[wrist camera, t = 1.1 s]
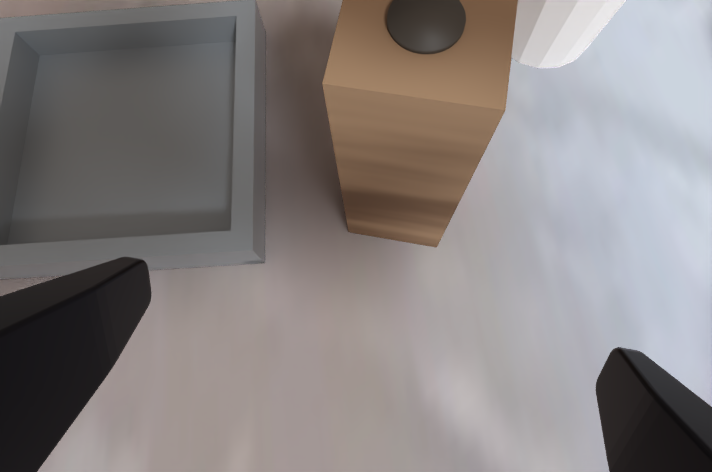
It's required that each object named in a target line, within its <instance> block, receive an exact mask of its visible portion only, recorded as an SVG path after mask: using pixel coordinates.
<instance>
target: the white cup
mask: <svg viewBox="0 0 712 472" xmlns="http://www.w3.org/2000/svg"><path fill="white" fill-rule="evenodd" d="M625 2H626V0H518V4H517V12H516V21H515V30H514V38H513V47H512V56H511V58H513V59H514V60H515V61H517V62H518V63H521V64H525V65H528V66H531V67H535V68H558V67H561V66H563V65H565V64H568V63H570V62H573V61H575V60H576V59H577V58H578V57H579V56H580V55H581V54H582V53H583V52H584V51H585V50H586V49H587V47H588V46H589V45H590V44H591V43H592V41H593V40H594V39H595V38H596V37H597V35H598V34H599V33H600V32H601V31H602V29H603V28H604V27H605V26H606V24H607V23H608V22H609V21H610V20H611V18H612V17H613V16H614V15H615V14H616V12H617V11H618V10H619V9H620V8H621V6H622V5H623V4H624V3H625Z"/></svg>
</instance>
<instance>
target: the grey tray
mask: <svg viewBox="0 0 712 472" xmlns="http://www.w3.org/2000/svg"><path fill="white" fill-rule="evenodd" d="M265 147H266V31H265V28H264V25H263V22H262V19H261V15H260V12H259V9H258V6H257V3H256V0H239V1H226V2H212V3H198V4H185V5H171V6H157V7H144V8H130V9H117V10H103V11H89V12H76V13H62V14H49V15H35V16H21V17H8V18H0V279H15V278H31V277H47V276H64V275H68V274H71V273H74V272H77V271H80V270H83V269H86V268H90V267H93V266H96V265H99V264H102V263H105V262H108V261H111V260H114V259H117V258H120V257H132V258H138V259H142V260H144V261H145V262H146V263H147V265H148V270H161V269H177V268H194V267H210V266H226V265H242V264H258V263H265Z"/></svg>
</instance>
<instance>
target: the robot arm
mask: <svg viewBox="0 0 712 472" xmlns="http://www.w3.org/2000/svg"><path fill="white" fill-rule="evenodd" d="M150 301H151V286H150V279H149V271H148V265H147V263H146V262H145V261H144V260H142V259H138V258H132V257H120V258H117V259H114V260H111V261H108V262H105V263H102V264H99V265H96V266H93V267H90V268H86V269H83V270H80V271H77V272H74V273H71V274H68V275H65V276H62V277H59V278H56V279H53V280H49V281H46V282H43V283H40V284H37V285H34V286H31V287H28V288H25V289H22V290H19V291H16V292H13V293H9V294H6V295H3V296H0V472H37V471H38V470H39V468H40V467H41V466H42V464H43V463H44V461H45V460H46V459H47V457H48V456H49V455H50V453H51V452H52V451H53V449H54V448H55V446H56V445H57V444H58V442H59V441H60V440H61V438H62V437H63V435H64V434H65V433H66V431H67V430H68V429H69V427H70V426H71V424H72V423H73V422H74V420H75V419H76V418H77V416H78V415H79V413H80V412H81V411H82V409H83V408H84V407H85V405H86V404H87V402H88V401H89V400H90V398H91V397H92V396H93V394H94V393H95V392H96V390H97V389H98V387H99V386H100V385H101V383H102V382H103V381H104V379H105V378H106V376H107V375H108V373H109V372H110V370H111V369H112V367H113V366H114V364H115V363H116V361H117V359H118V358H119V356H120V354H121V353H122V351H123V349H124V347H125V346H126V344H127V342H128V341H129V339H130V337H131V335H132V334H133V332H134V330H135V328H136V327H137V325H138V323H139V322H140V320H141V318H142V316H143V315H144V313H145V311H146V309H147V308H148V306H149V304H150ZM596 396H597V402H598V408H599V414H600V420H601V426H602V432H603V438H604V444H605V450H606V456H607V461H608V466H609V471H610V472H712V407H711V406H710V405H708V404H707V403H706V402H705V401H703V400H702V399H701V398H700V397H698V396H697V395H696V394H694V393H693V392H692V391H691V390H689V389H688V388H687V387H685V386H684V385H683V384H682V383H680V382H679V381H678V380H677V379H675V378H674V377H673V376H671V375H670V374H669V373H668V372H666V371H665V370H664V369H662V368H661V367H660V366H659V365H657V364H656V363H655V362H654V361H652V360H651V359H650V358H648V357H647V356H646V355H645V354H643V353H642V352H640V351H637V350H632V349H626V348H621V347H618V348H615V349H613V350H612V351H611V353H610V355H609V357H608V359H607V361H606V363H605V365H604V367H603V369H602V371H601V373H600V375H599V377H598V379H597V382H596Z"/></svg>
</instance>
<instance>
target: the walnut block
mask: <svg viewBox="0 0 712 472" xmlns="http://www.w3.org/2000/svg"><path fill="white" fill-rule="evenodd" d="M517 4H518V0H343V2H342V6H341V10H340V14H339V18H338V22H337V26H336V30H335V34H334V38H333V42H332V46H331V50H330V54H329V58H328V62H327V67H326V71H325V75H324V79H323V83H322V85H323V91H324V96H325V102H326V107H327V113H328V119H329V124H330V130H331V136H332V141H333V147H334V153H335V158H336V164H337V169H338V175H339V181H340V186H341V192H342V198H343V203H344V209H345V215H346V220H347V226H348V231H349V232H351V233H357V234H362V235H368V236H374V237H380V238H386V239H391V240H397V241H403V242H409V243H414V244H420V245H426V246H432V247H437V246H438V244H439V242H440V240H441V238H442V236H443V234H444V232H445V230H446V228H447V226H448V224H449V222H450V220H451V218H452V216H453V214H454V212H455V210H456V208H457V206H458V204H459V202H460V200H461V198H462V196H463V194H464V192H465V190H466V188H467V186H468V184H469V182H470V180H471V178H472V176H473V174H474V172H475V170H476V168H477V166H478V164H479V162H480V160H481V158H482V156H483V154H484V152H485V150H486V148H487V146H488V144H489V142H490V140H491V138H492V136H493V134H494V132H495V130H496V128H497V126H498V124H499V122H500V120H501V118H502V116H503V114H504V112H505V108H506V99H507V91H508V82H509V73H510V65H511V56H512V47H513V38H514V30H515V21H516V12H517Z"/></svg>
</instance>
